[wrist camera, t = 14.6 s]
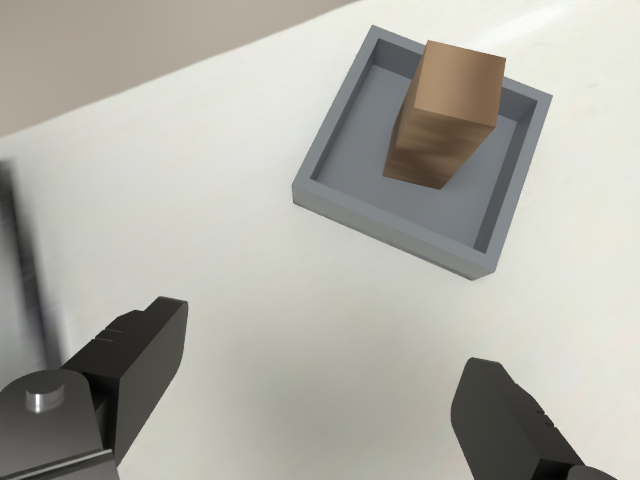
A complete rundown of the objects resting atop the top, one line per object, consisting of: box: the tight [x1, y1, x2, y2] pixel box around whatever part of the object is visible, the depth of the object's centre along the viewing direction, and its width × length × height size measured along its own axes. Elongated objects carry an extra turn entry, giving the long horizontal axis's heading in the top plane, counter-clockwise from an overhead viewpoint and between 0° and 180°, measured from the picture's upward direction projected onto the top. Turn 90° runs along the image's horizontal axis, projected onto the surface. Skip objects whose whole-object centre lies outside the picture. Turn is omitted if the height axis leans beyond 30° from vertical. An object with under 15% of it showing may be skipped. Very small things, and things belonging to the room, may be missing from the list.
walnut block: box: [382, 40, 506, 190], centre depth 29 cm, size 5×5×10 cm
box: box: [292, 25, 553, 281], centre depth 32 cm, size 16×16×4 cm
